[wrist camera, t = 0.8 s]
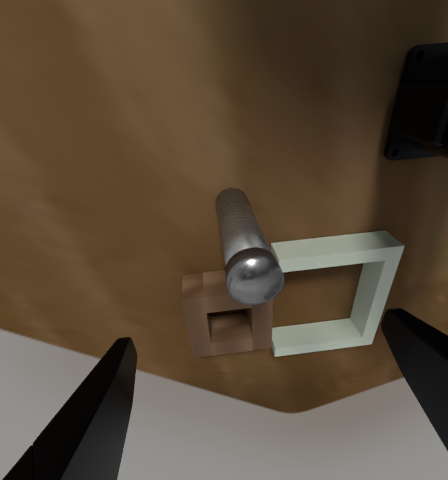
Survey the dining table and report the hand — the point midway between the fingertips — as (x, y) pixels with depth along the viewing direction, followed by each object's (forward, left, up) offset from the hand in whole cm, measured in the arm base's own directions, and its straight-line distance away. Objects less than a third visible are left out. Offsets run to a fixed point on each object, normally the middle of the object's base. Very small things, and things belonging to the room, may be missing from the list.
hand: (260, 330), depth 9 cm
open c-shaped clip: (-7, +10, -12) cm, 17 cm away
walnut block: (+1, +10, -12) cm, 15 cm away
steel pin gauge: (0, 0, -12) cm, 12 cm away
